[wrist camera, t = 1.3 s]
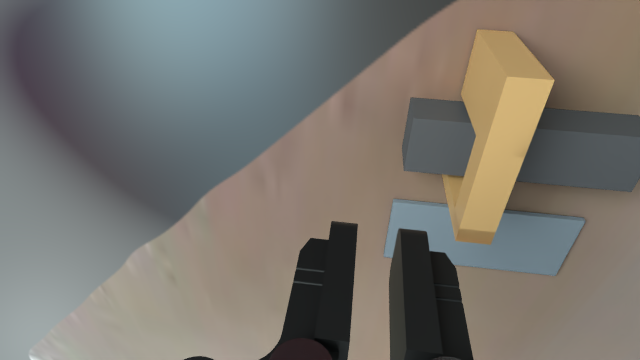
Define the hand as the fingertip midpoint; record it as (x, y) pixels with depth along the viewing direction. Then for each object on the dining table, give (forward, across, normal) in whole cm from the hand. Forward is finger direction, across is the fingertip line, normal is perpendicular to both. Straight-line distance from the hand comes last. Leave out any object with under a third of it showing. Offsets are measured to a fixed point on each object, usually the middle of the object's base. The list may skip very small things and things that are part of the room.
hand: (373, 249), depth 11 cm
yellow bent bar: (+17, -7, +3) cm, 18 cm away
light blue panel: (+17, -10, +14) cm, 24 cm away
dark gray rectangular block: (+17, -10, +5) cm, 20 cm away
